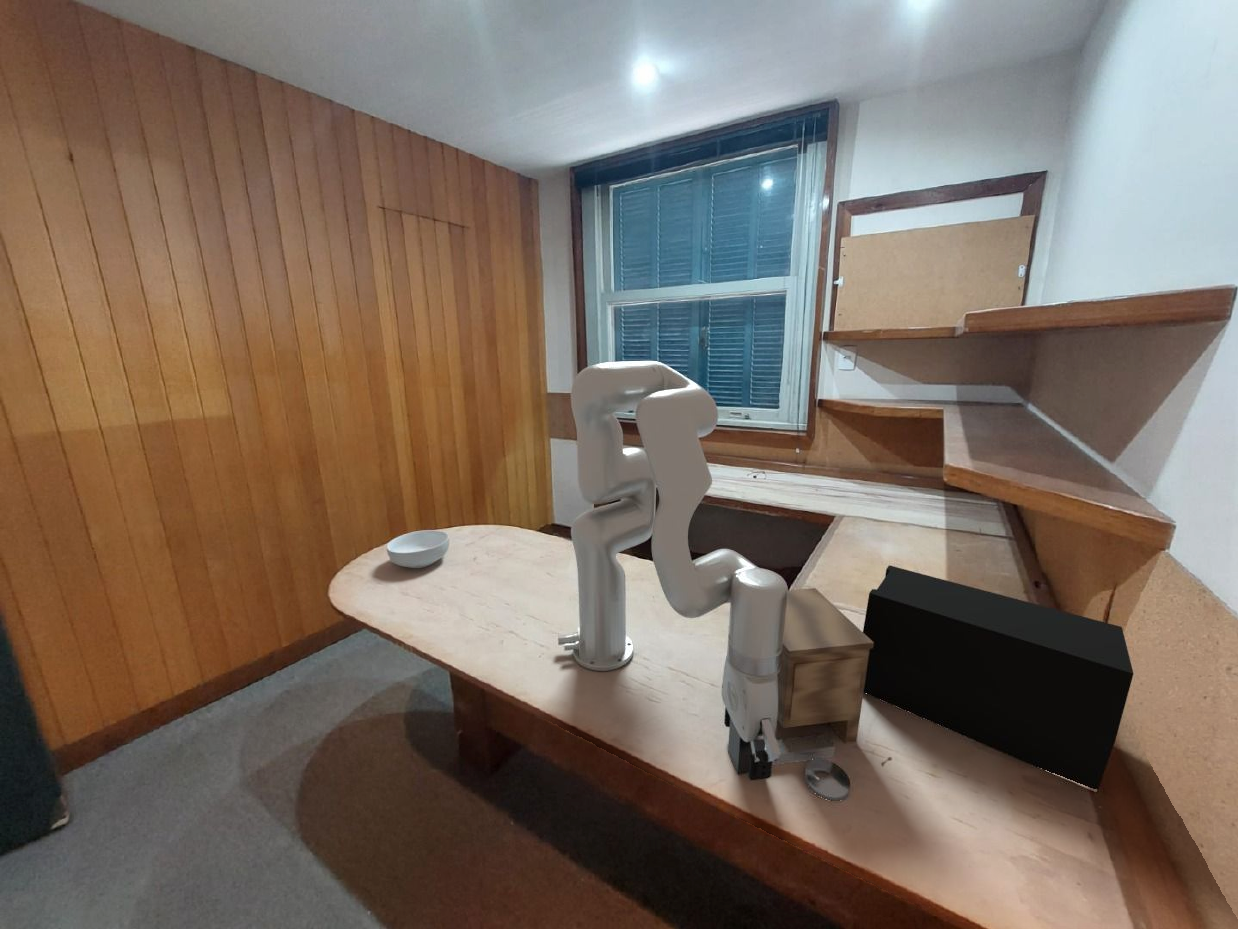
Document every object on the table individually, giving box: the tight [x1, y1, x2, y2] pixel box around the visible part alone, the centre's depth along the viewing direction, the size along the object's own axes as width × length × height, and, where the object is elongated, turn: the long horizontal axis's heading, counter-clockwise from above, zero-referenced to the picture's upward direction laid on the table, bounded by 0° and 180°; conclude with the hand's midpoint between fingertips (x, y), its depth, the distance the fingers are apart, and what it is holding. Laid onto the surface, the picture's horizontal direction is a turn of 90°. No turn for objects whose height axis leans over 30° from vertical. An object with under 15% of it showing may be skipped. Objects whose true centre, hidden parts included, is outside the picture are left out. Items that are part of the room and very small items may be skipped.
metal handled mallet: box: [727, 717, 836, 775], centre depth 73 cm, size 16×4×7 cm, turn 98°
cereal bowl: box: [386, 529, 450, 569], centre depth 140 cm, size 17×17×7 cm
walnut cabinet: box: [777, 587, 874, 744], centre depth 81 cm, size 14×17×18 cm
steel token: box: [804, 758, 851, 802], centre depth 70 cm, size 6×6×2 cm
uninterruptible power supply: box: [862, 565, 1134, 790], centre depth 80 cm, size 16×34×20 cm, turn 49°
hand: (745, 749), depth 73 cm, fingers open, 9 cm apart
